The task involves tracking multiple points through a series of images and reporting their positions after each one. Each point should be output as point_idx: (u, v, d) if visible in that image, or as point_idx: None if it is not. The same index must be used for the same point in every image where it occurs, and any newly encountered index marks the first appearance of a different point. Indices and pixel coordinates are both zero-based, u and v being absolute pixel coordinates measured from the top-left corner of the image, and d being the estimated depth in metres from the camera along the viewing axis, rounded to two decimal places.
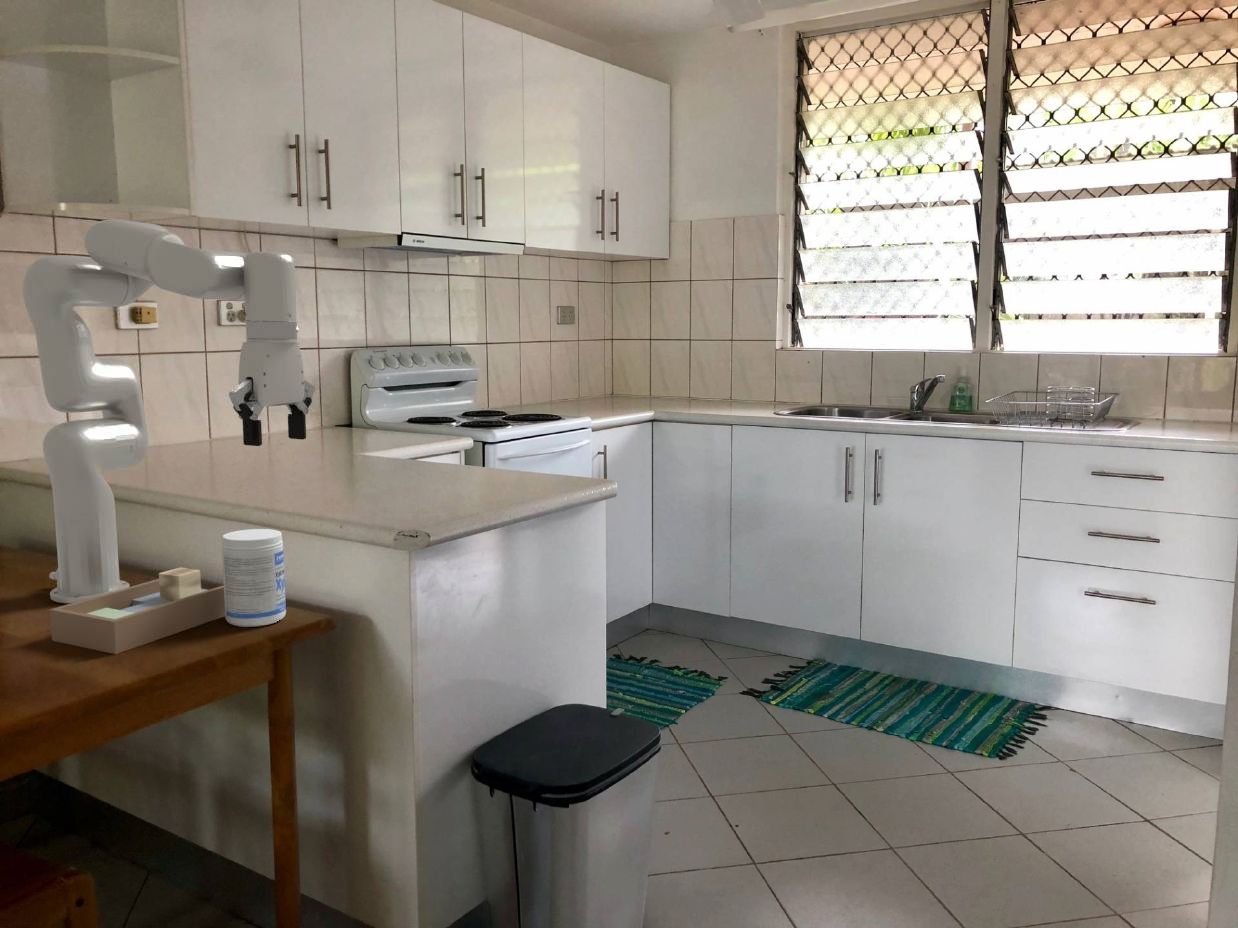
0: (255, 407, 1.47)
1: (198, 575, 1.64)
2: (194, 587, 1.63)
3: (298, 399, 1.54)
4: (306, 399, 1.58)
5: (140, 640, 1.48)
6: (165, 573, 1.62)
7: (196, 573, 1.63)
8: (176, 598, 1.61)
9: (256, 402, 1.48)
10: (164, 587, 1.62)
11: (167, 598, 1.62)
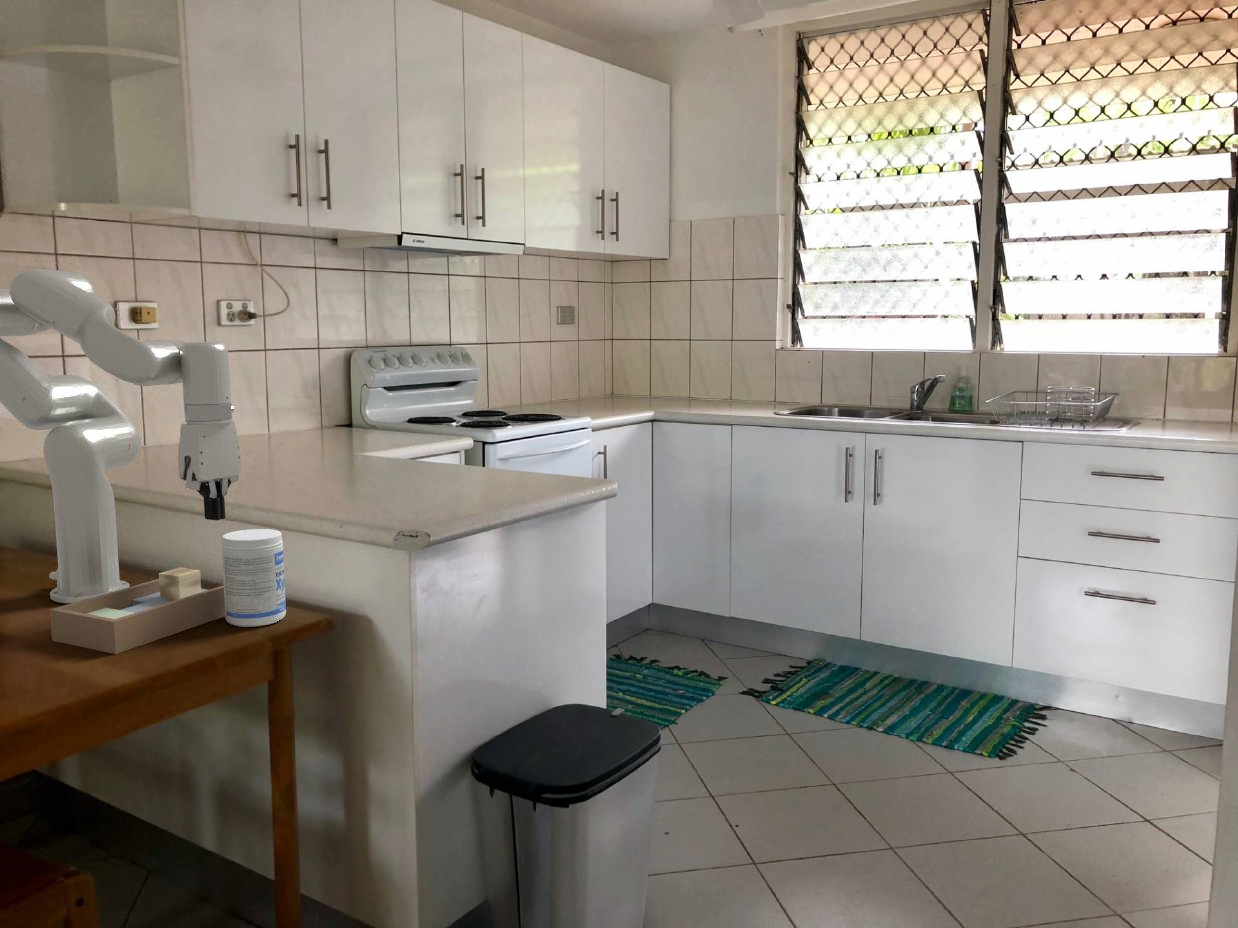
0: (209, 488, 1.65)
1: (198, 575, 1.64)
2: (194, 587, 1.63)
3: (235, 472, 1.69)
4: None
5: (140, 640, 1.48)
6: (165, 573, 1.62)
7: (196, 573, 1.63)
8: (176, 598, 1.61)
9: (206, 483, 1.65)
10: (164, 587, 1.62)
11: (167, 598, 1.62)
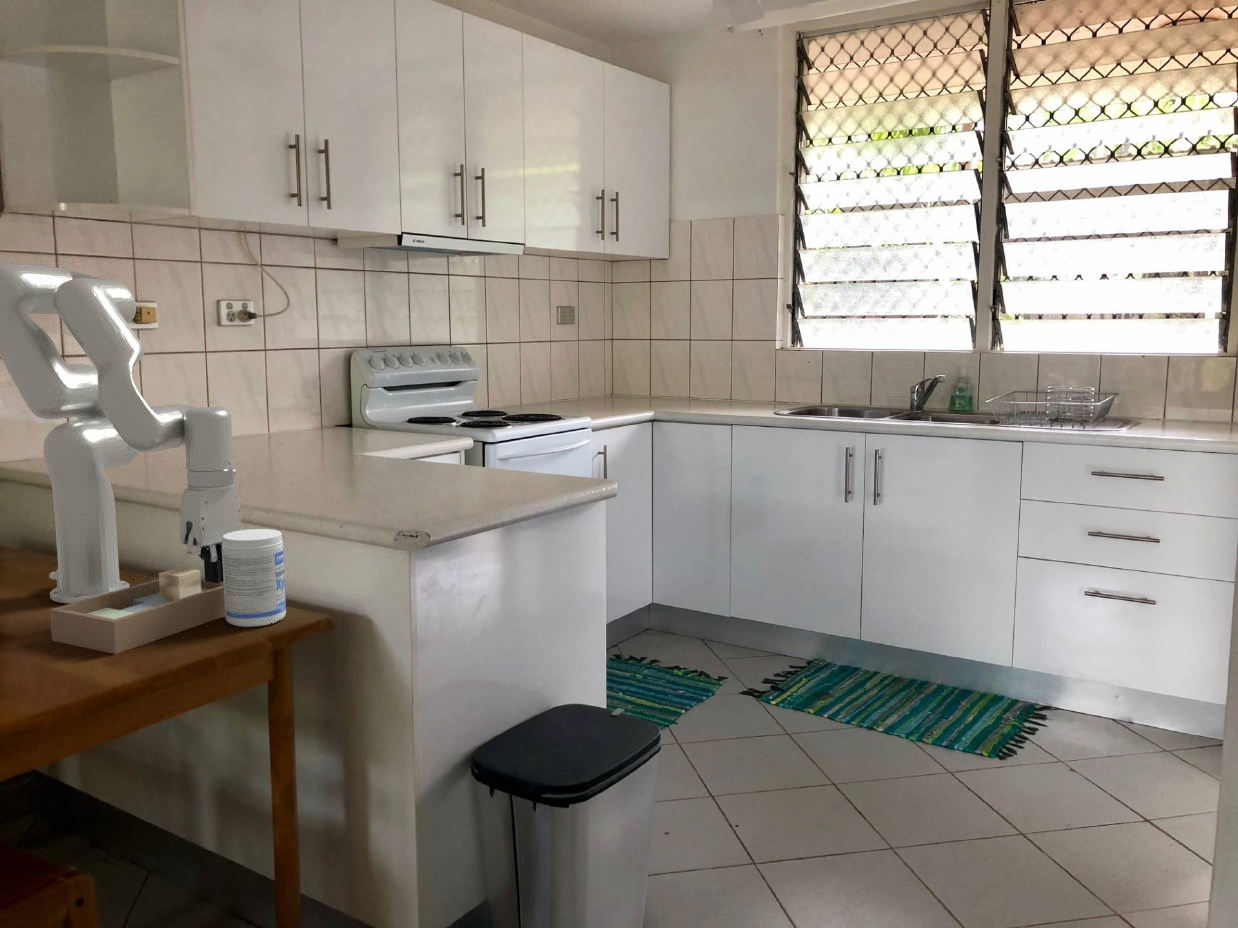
0: (210, 552, 1.67)
1: (198, 575, 1.64)
2: (194, 587, 1.63)
3: None
4: None
5: (140, 640, 1.48)
6: (165, 573, 1.62)
7: (196, 573, 1.63)
8: (176, 598, 1.61)
9: (207, 547, 1.67)
10: (164, 587, 1.62)
11: (167, 598, 1.62)
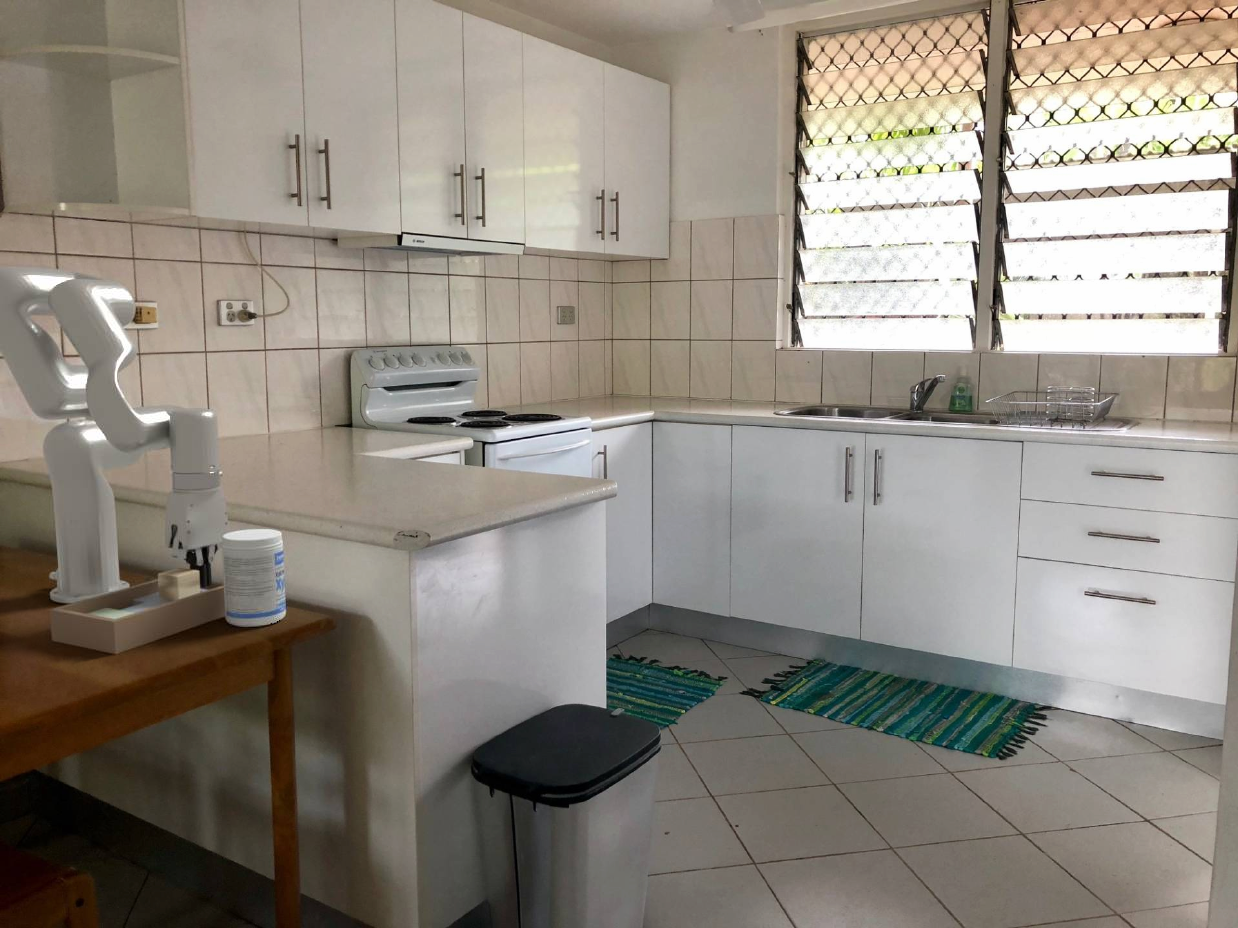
0: (195, 556, 1.64)
1: (197, 575, 1.63)
2: (193, 587, 1.63)
3: None
4: None
5: (140, 640, 1.48)
6: (164, 573, 1.61)
7: (195, 573, 1.63)
8: (175, 598, 1.61)
9: (193, 551, 1.64)
10: (163, 588, 1.61)
11: (166, 598, 1.61)
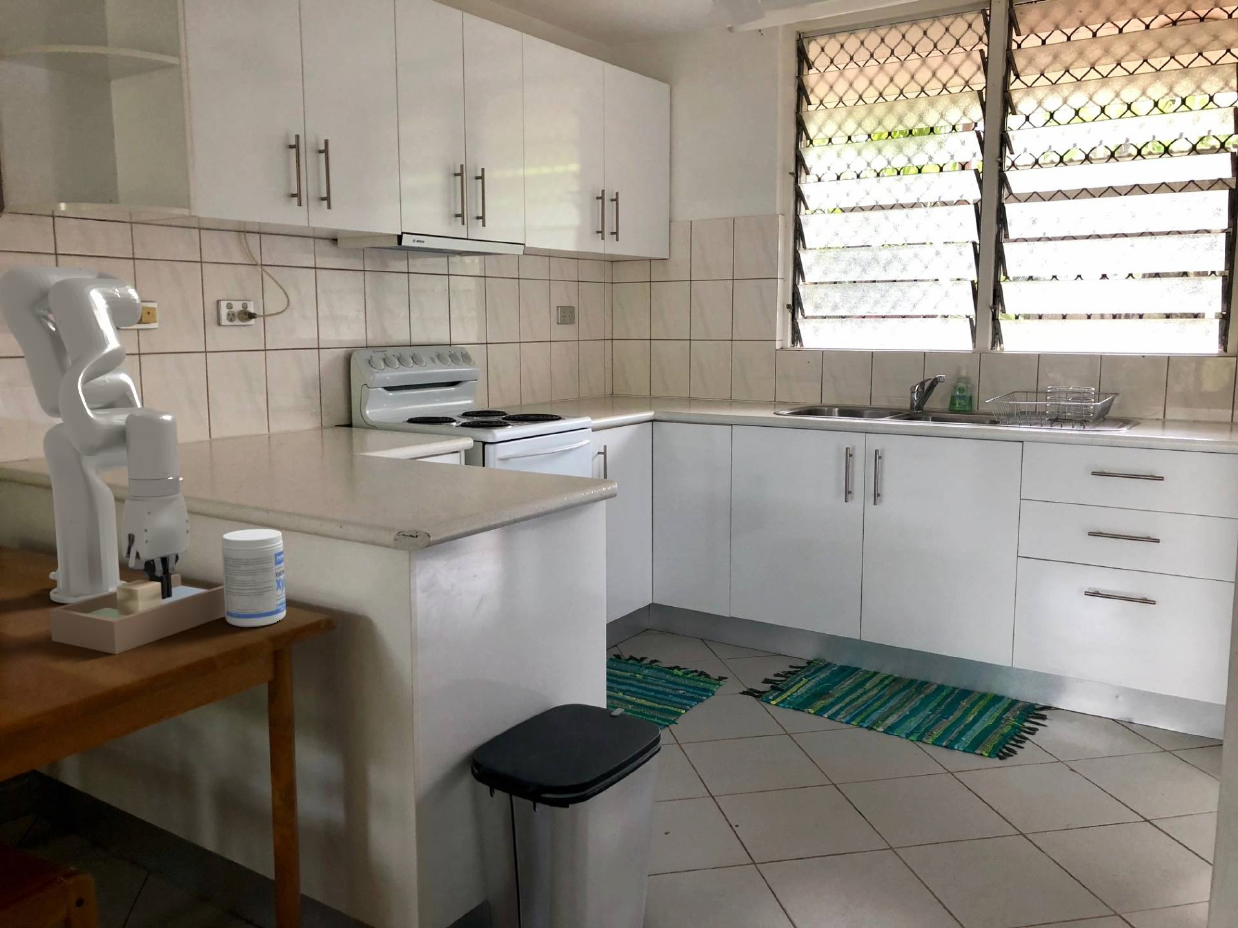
0: (154, 566, 1.56)
1: (158, 588, 1.56)
2: (154, 600, 1.55)
3: (183, 547, 1.60)
4: None
5: (140, 640, 1.48)
6: (123, 586, 1.53)
7: (156, 586, 1.55)
8: (135, 612, 1.53)
9: (152, 561, 1.56)
10: (122, 601, 1.53)
11: (126, 613, 1.53)
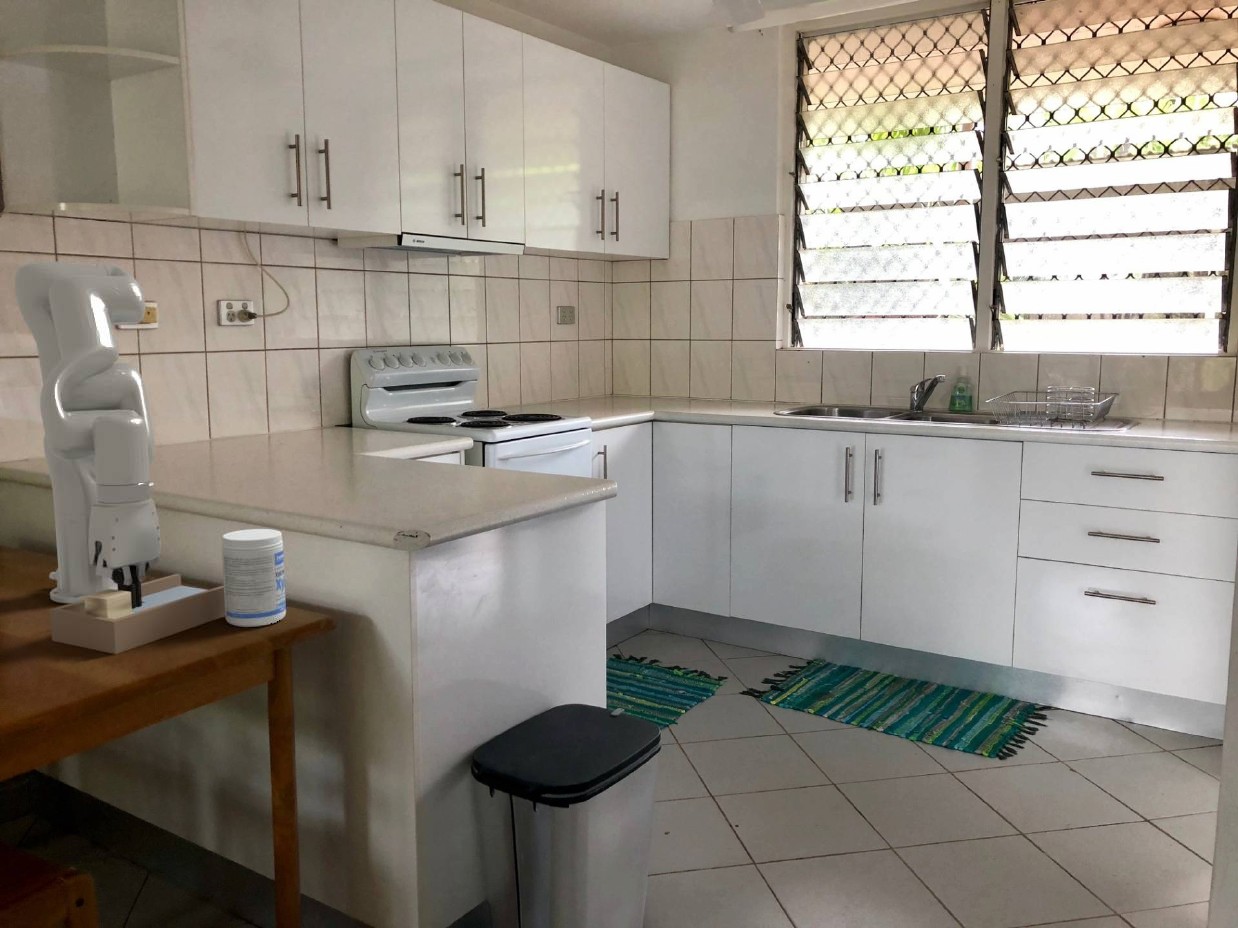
0: (123, 575, 1.51)
1: (128, 597, 1.50)
2: (124, 610, 1.50)
3: (153, 555, 1.55)
4: None
5: (140, 640, 1.48)
6: (91, 596, 1.48)
7: (126, 595, 1.50)
8: None
9: (120, 569, 1.51)
10: (90, 611, 1.48)
11: None
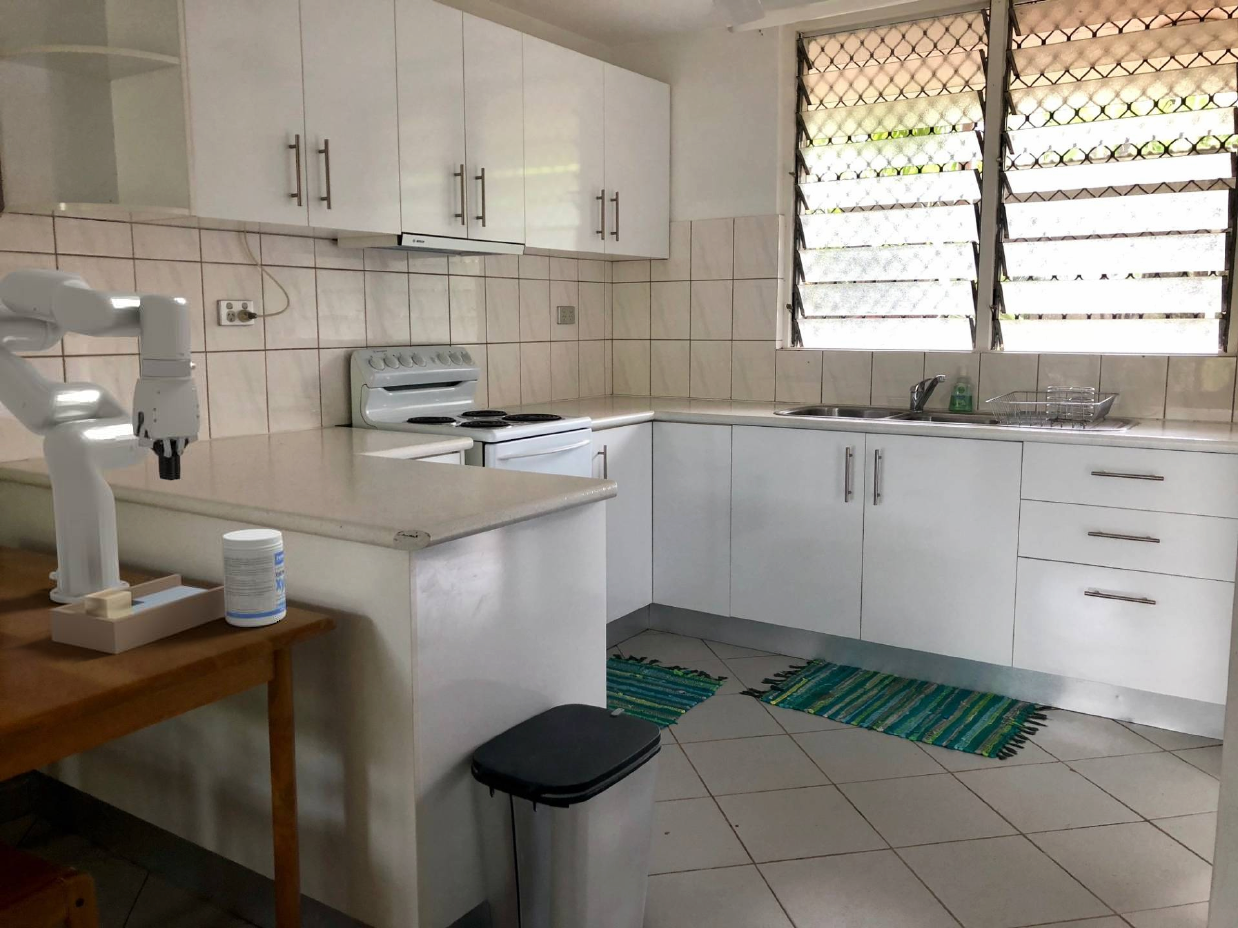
0: (163, 447, 1.60)
1: (128, 597, 1.50)
2: (124, 610, 1.50)
3: (192, 432, 1.64)
4: None
5: (140, 640, 1.48)
6: (91, 596, 1.48)
7: (126, 595, 1.50)
8: None
9: (161, 441, 1.60)
10: (90, 611, 1.48)
11: None
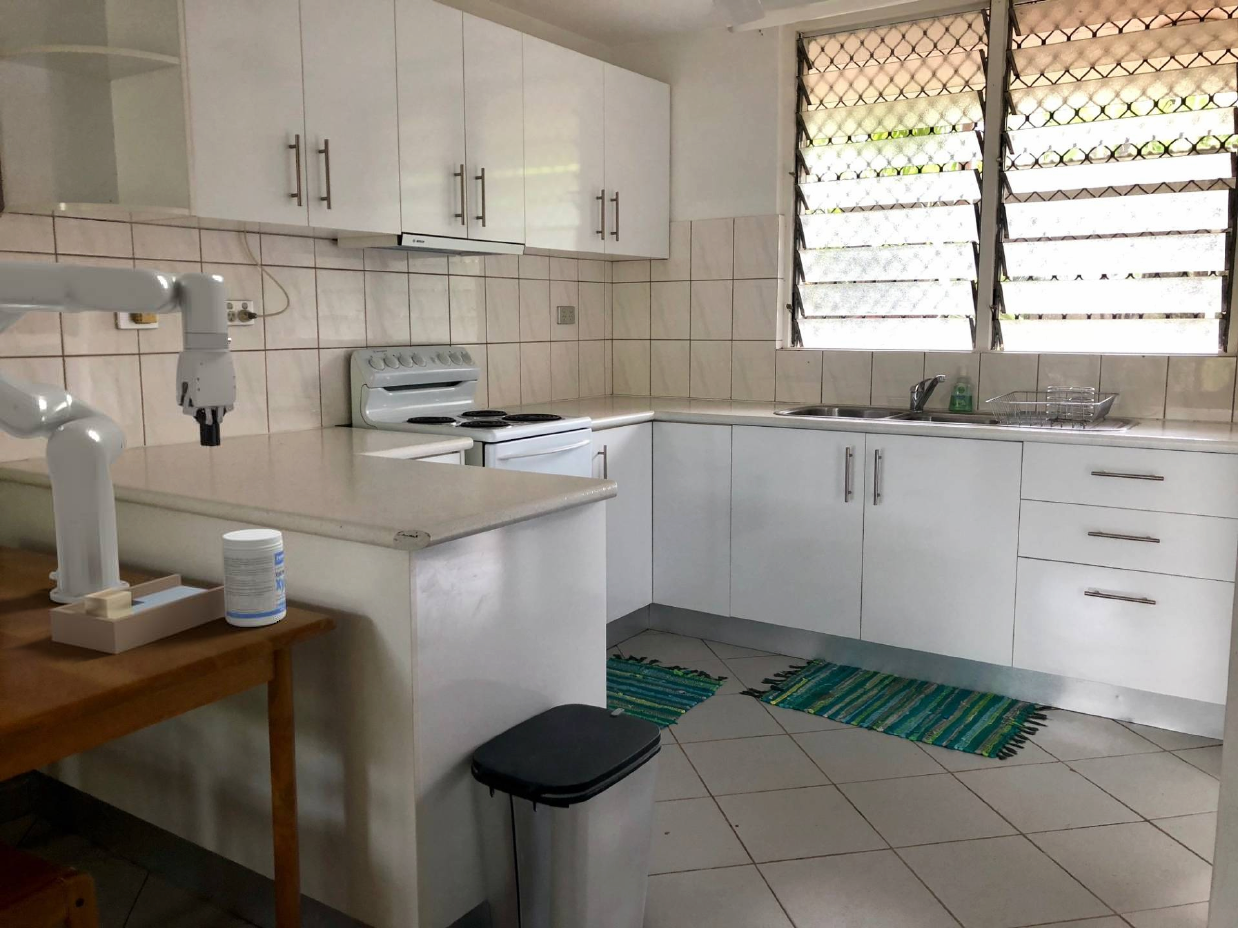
0: (205, 415, 1.72)
1: (128, 597, 1.50)
2: (124, 610, 1.50)
3: (230, 401, 1.76)
4: None
5: (140, 640, 1.48)
6: (91, 596, 1.48)
7: (126, 595, 1.50)
8: None
9: (203, 410, 1.71)
10: (90, 611, 1.48)
11: None
